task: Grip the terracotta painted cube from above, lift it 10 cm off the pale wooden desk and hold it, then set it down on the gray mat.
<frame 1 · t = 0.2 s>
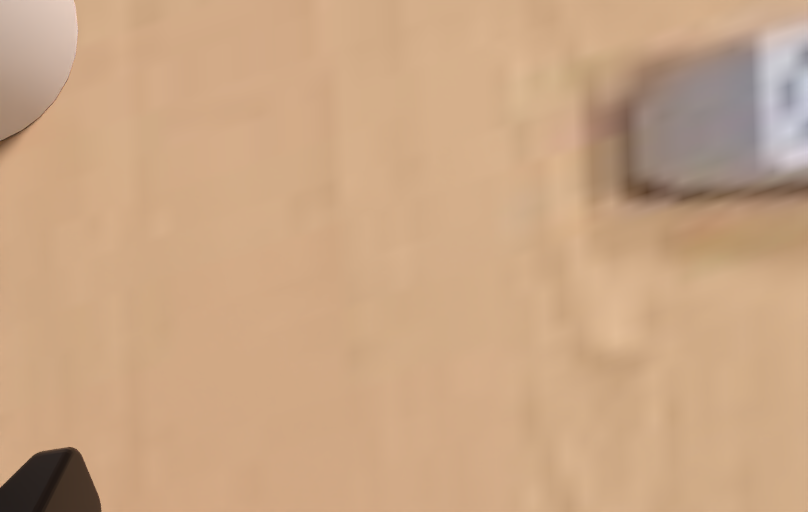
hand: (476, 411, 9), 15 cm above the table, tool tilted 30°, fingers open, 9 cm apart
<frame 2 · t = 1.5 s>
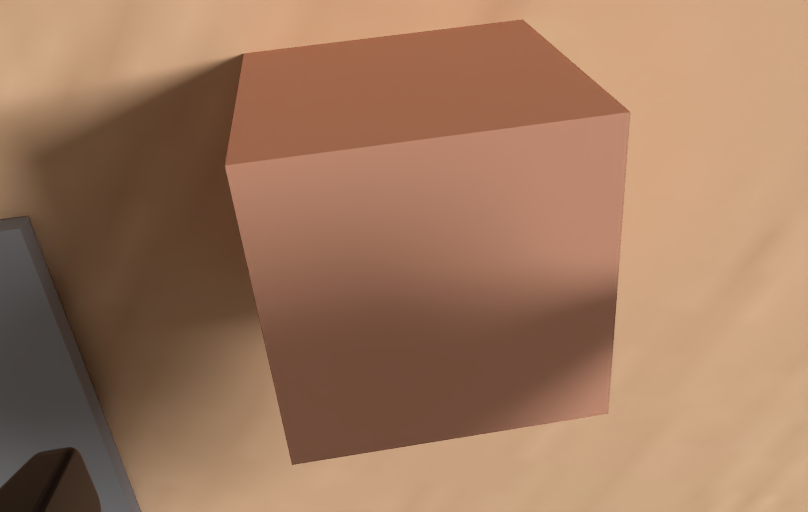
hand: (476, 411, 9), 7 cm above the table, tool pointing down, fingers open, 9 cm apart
terracotta cube: (397, 163, 15), on the table
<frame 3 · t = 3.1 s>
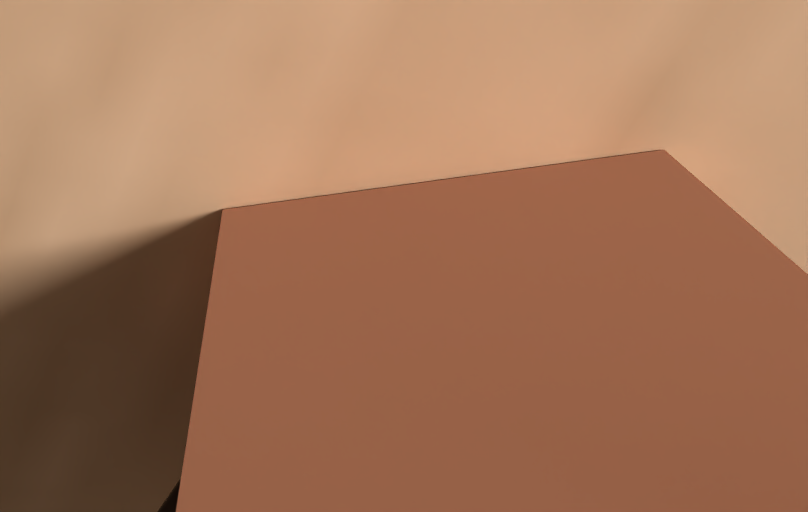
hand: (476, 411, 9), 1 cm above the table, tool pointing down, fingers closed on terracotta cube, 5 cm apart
terracotta cube: (458, 356, 10), on the table, touching gripper
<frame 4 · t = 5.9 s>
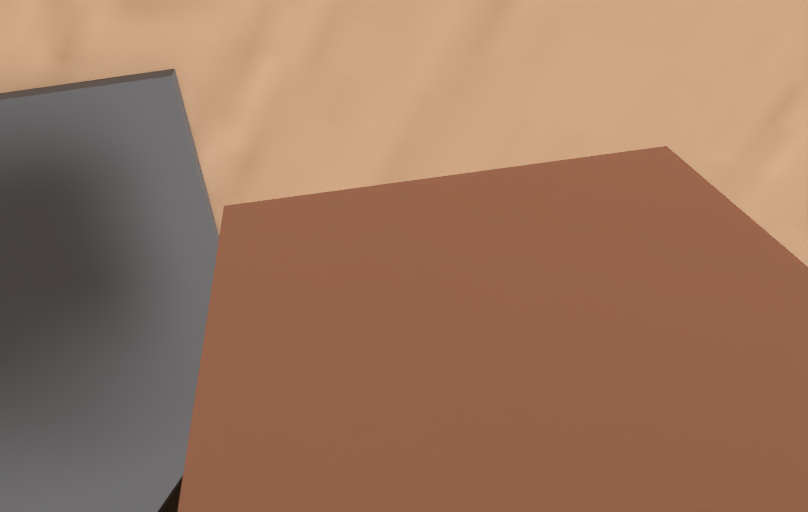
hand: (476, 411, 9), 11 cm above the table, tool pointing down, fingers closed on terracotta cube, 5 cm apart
terracotta cube: (460, 353, 10), point 10 cm above the table, touching gripper
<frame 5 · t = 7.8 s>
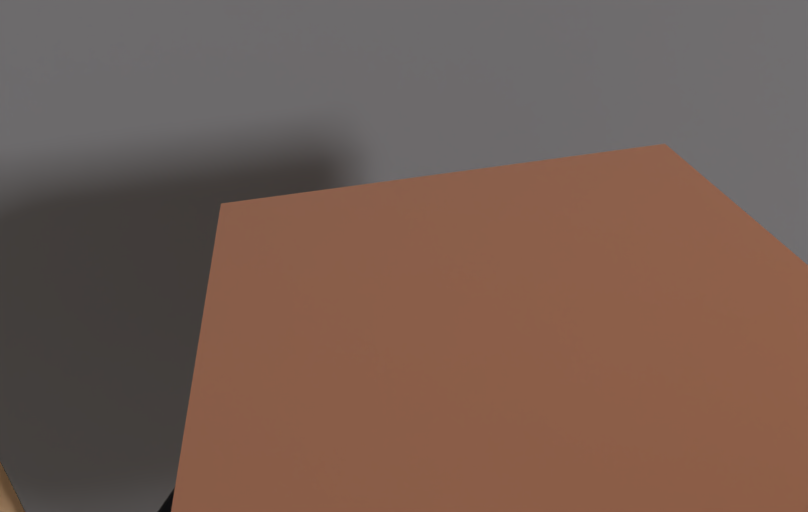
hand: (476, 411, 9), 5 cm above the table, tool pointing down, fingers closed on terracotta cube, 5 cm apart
terracotta cube: (458, 351, 10), point 4 cm above the table, touching gripper
gray mat: (408, 212, 13), on the table
when the fingers open (2 cm above the table, at t = 9.1 s): terracotta cube stays where it is, resting on gray mat.
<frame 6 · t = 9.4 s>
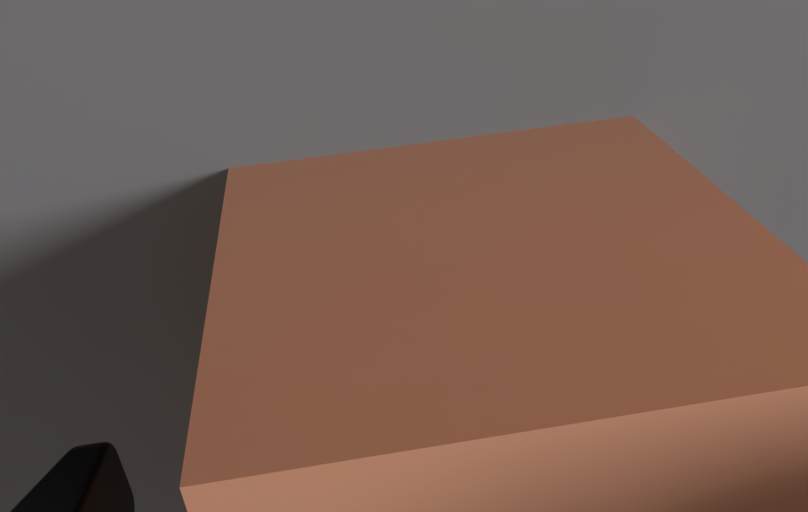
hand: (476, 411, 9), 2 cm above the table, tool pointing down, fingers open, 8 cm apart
terracotta cube: (445, 309, 10), resting on gray mat
gray mat: (436, 294, 11), on the table
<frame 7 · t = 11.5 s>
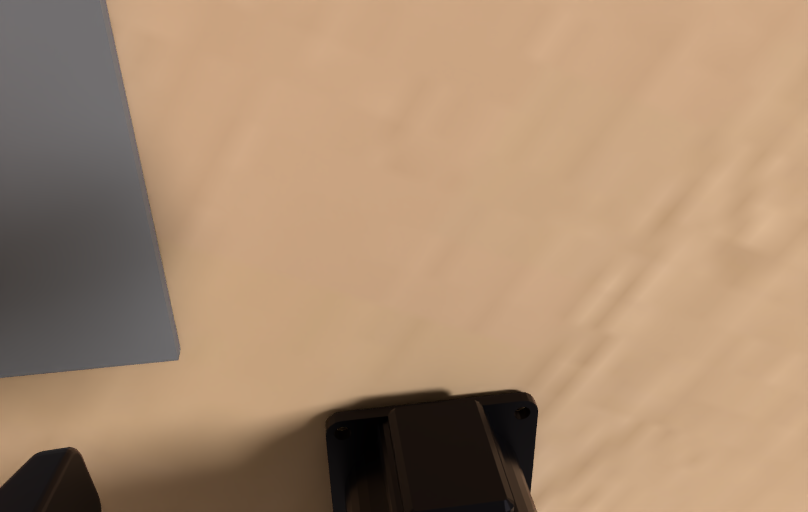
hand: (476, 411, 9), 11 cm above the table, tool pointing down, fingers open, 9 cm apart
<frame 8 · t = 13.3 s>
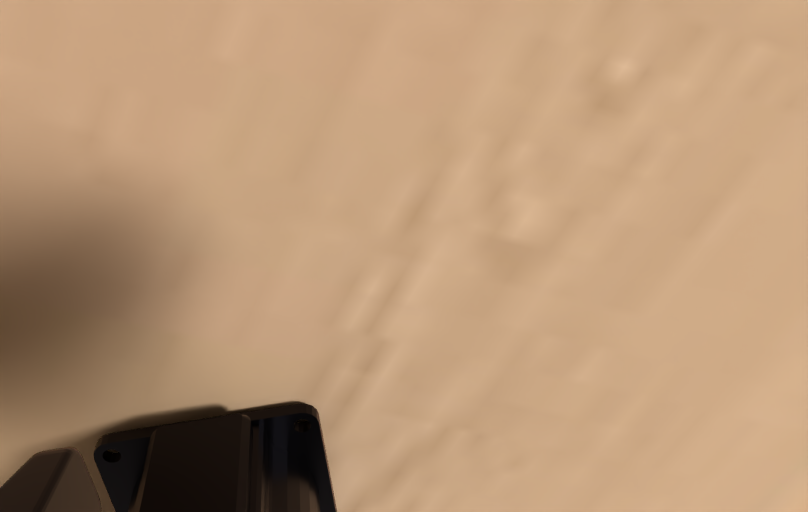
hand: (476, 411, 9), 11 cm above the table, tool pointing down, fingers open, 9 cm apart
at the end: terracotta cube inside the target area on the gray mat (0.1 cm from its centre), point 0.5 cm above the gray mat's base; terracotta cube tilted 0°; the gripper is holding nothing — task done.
